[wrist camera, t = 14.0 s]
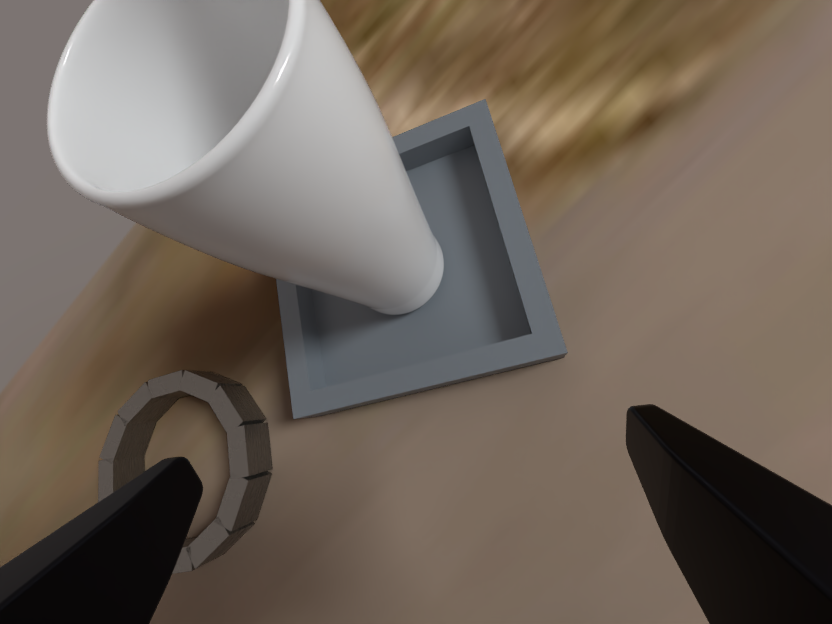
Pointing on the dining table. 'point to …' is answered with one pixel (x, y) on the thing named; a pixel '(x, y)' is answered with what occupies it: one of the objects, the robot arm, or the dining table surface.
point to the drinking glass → (243, 144)
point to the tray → (455, 297)
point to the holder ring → (243, 447)
